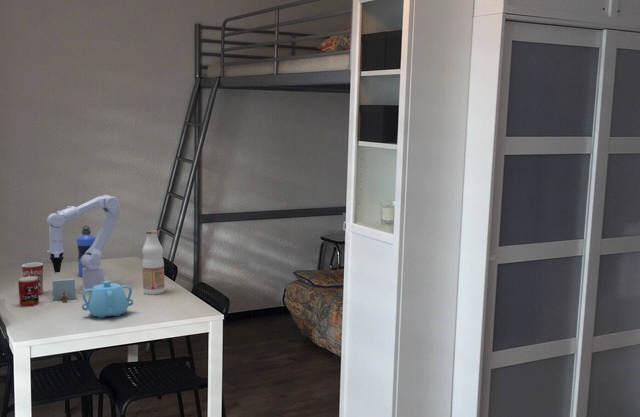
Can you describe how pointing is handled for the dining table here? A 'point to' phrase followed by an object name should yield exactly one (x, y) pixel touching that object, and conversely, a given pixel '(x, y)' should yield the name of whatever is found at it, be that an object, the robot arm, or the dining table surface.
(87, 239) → the water bottle
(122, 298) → the decorative pot
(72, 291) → the slim blue-grey slab
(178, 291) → the dining table surface
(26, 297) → the canned food
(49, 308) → the dining table surface
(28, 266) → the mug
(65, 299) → the rail
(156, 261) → the fruit juice
